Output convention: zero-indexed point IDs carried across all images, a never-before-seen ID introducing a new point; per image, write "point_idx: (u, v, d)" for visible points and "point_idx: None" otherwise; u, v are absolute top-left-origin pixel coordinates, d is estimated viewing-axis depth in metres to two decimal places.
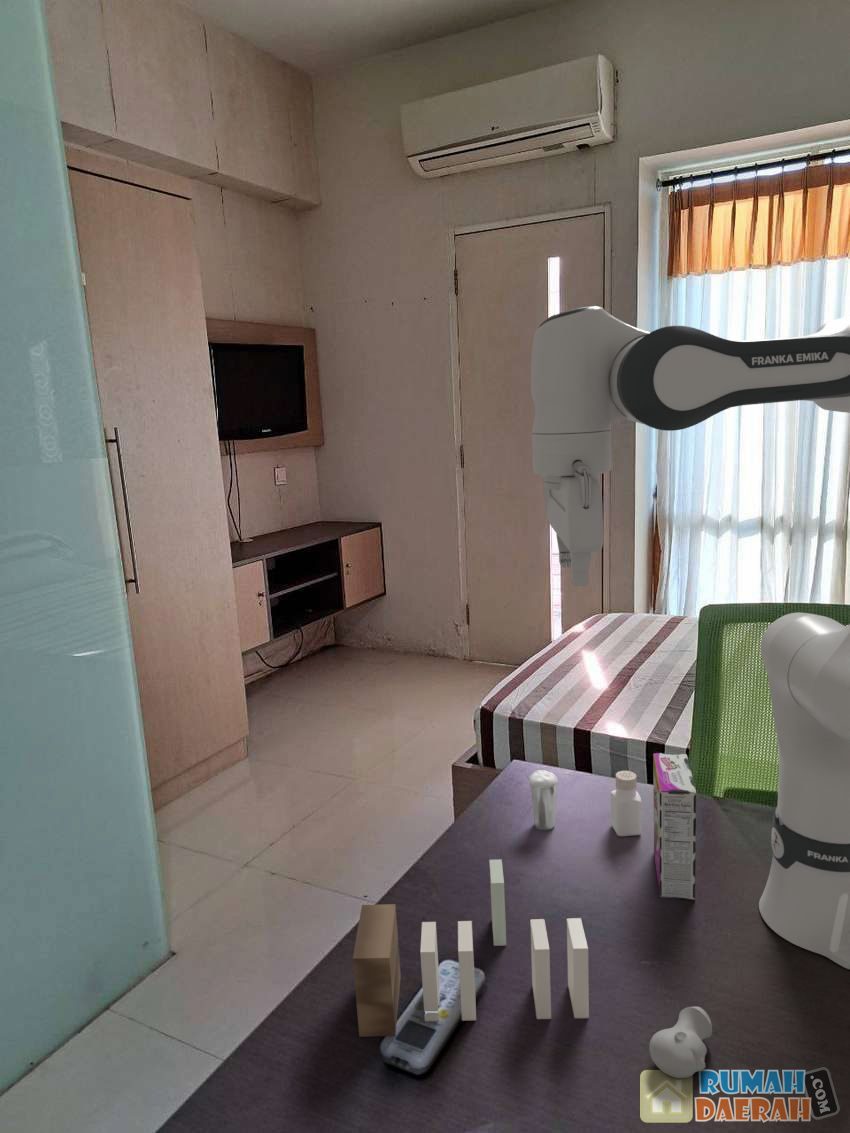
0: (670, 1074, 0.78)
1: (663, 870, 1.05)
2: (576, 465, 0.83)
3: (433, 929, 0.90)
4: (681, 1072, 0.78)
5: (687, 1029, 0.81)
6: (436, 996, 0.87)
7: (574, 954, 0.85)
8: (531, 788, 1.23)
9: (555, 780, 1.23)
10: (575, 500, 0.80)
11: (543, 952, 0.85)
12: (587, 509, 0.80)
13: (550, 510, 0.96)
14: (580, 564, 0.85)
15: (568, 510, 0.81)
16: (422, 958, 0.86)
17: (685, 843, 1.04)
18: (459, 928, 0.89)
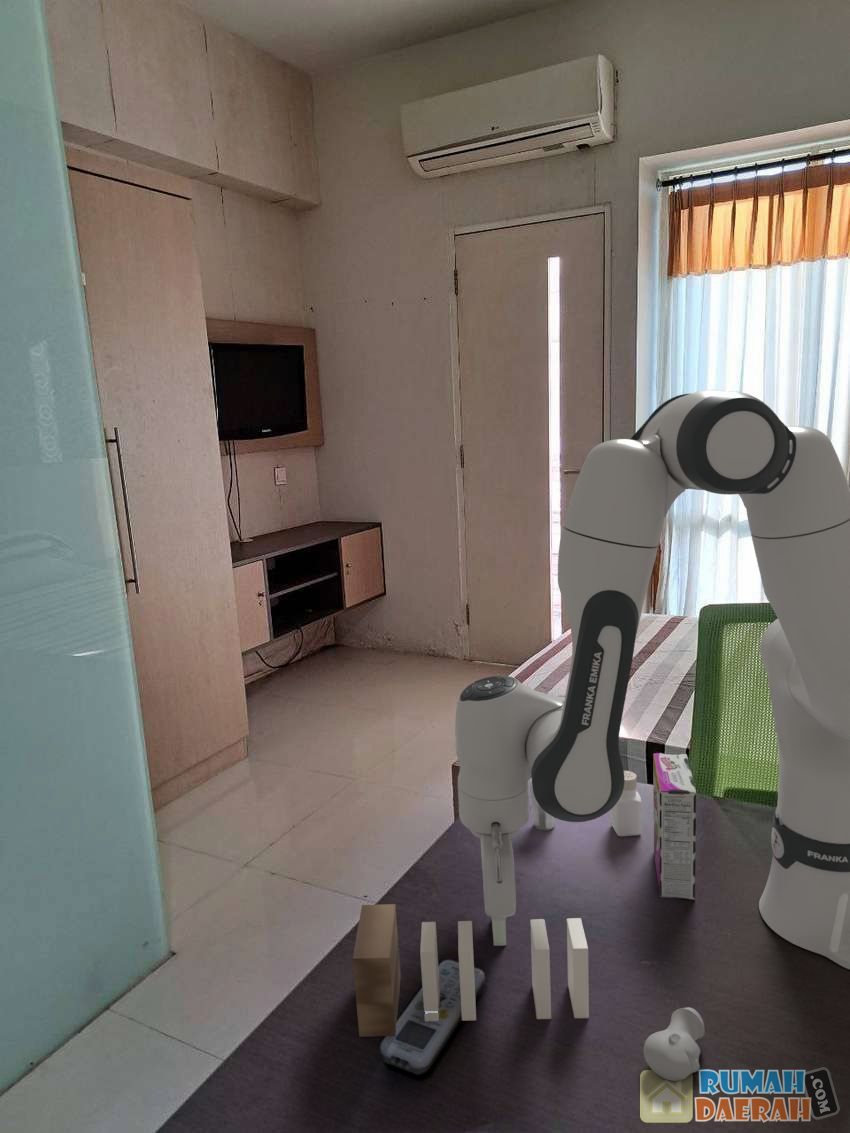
0: (665, 1077, 0.78)
1: (663, 870, 1.05)
2: (492, 834, 0.91)
3: (433, 929, 0.90)
4: (676, 1074, 0.78)
5: (680, 1031, 0.81)
6: (436, 996, 0.87)
7: (574, 954, 0.85)
8: (531, 788, 1.23)
9: None
10: (489, 875, 0.89)
11: (543, 952, 0.85)
12: (500, 883, 0.89)
13: None
14: None
15: (484, 882, 0.90)
16: (422, 958, 0.86)
17: (685, 843, 1.04)
18: (459, 928, 0.89)
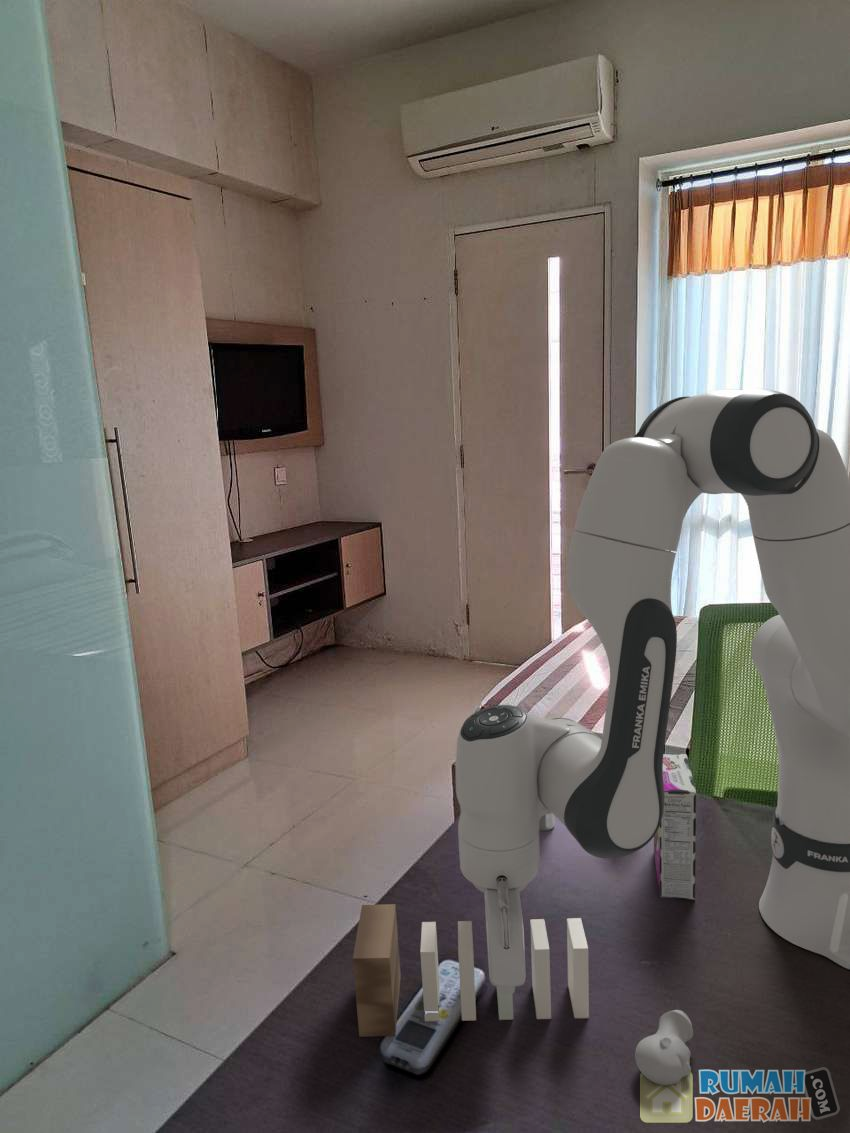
0: (658, 1082, 0.78)
1: (663, 870, 1.05)
2: (498, 891, 0.80)
3: (433, 929, 0.90)
4: (669, 1078, 0.77)
5: (670, 1034, 0.80)
6: (436, 996, 0.87)
7: (574, 954, 0.85)
8: None
9: None
10: (495, 940, 0.77)
11: (543, 952, 0.85)
12: (507, 949, 0.77)
13: None
14: None
15: (488, 947, 0.78)
16: (422, 958, 0.86)
17: (684, 843, 1.04)
18: (459, 928, 0.89)
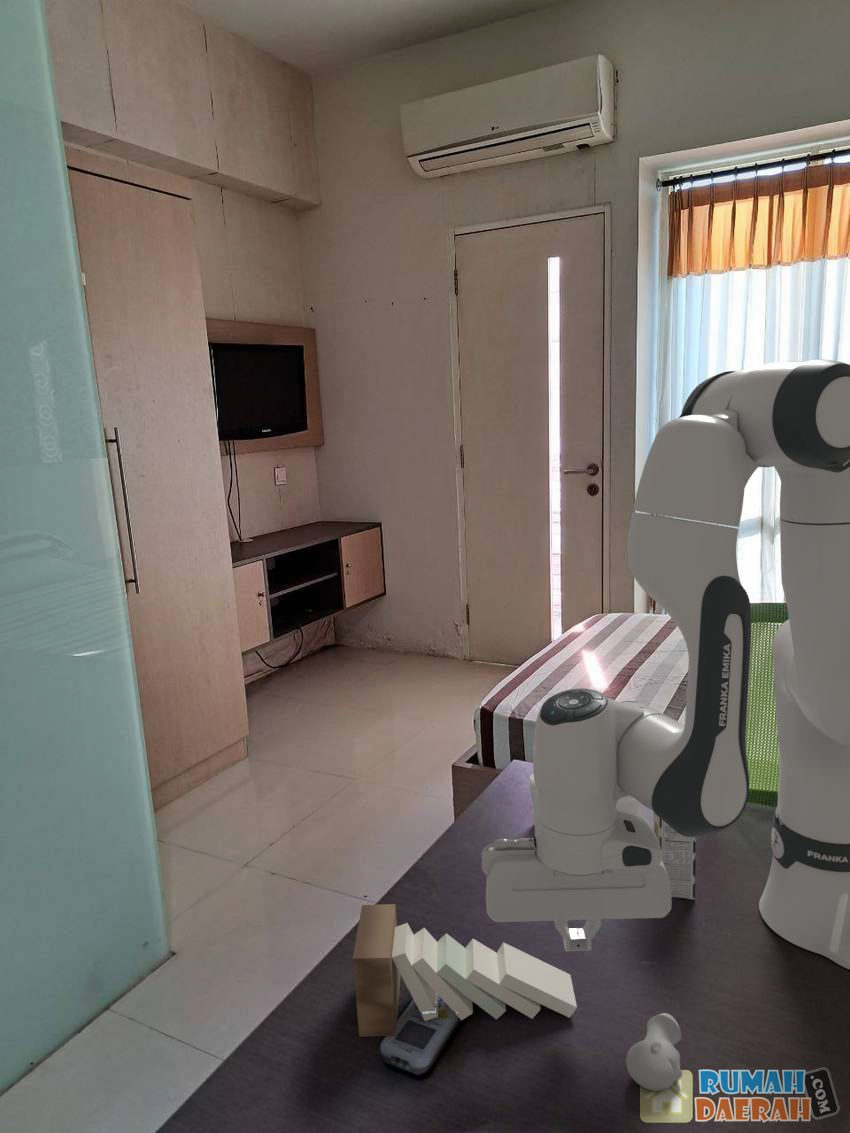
0: (650, 1088, 0.77)
1: None
2: (516, 839, 0.86)
3: (404, 930, 0.90)
4: (662, 1084, 0.77)
5: (660, 1038, 0.80)
6: (425, 994, 0.87)
7: (505, 986, 0.87)
8: (531, 788, 1.23)
9: None
10: None
11: (473, 974, 0.86)
12: (488, 877, 0.86)
13: None
14: None
15: None
16: (396, 962, 0.86)
17: (685, 843, 1.04)
18: (414, 941, 0.90)
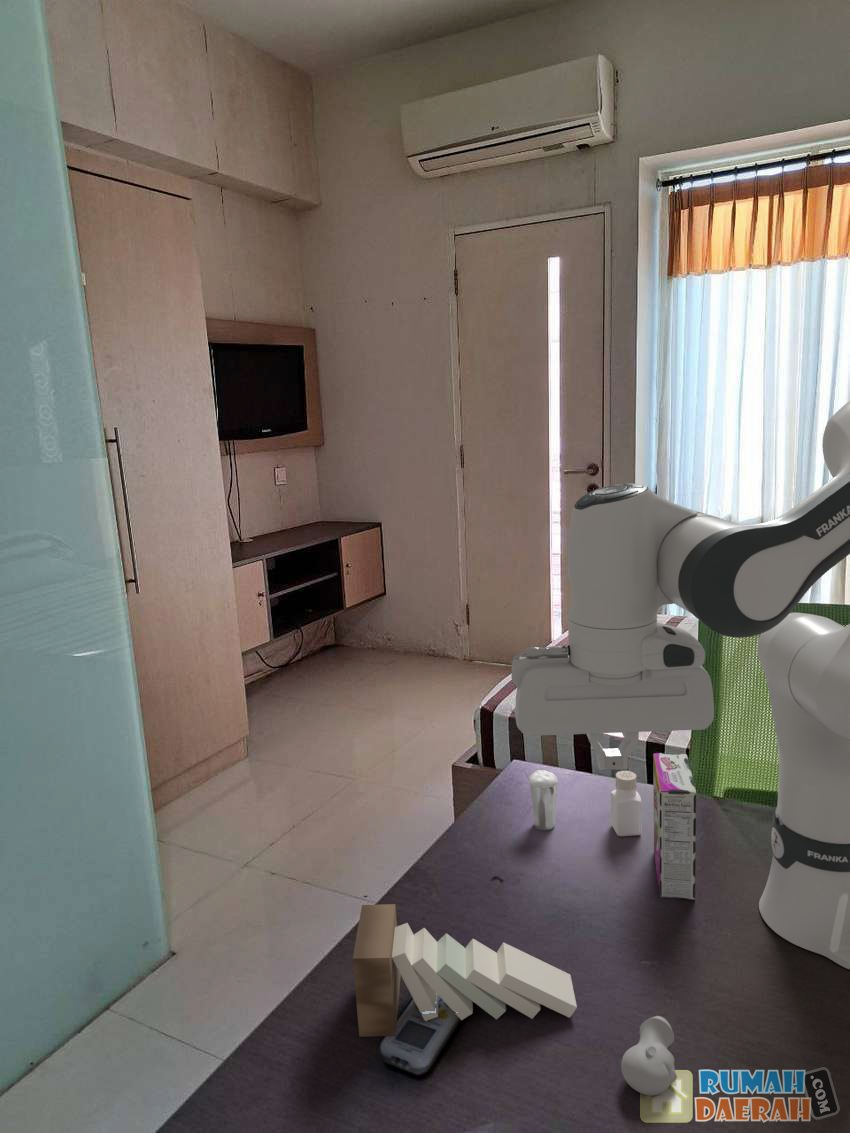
0: (646, 1093, 0.77)
1: (663, 870, 1.05)
2: None
3: (404, 930, 0.90)
4: (658, 1088, 0.76)
5: (654, 1042, 0.80)
6: (425, 994, 0.87)
7: (505, 986, 0.87)
8: (531, 788, 1.23)
9: (555, 780, 1.23)
10: None
11: (473, 974, 0.86)
12: (518, 689, 0.81)
13: None
14: None
15: None
16: (396, 962, 0.86)
17: (685, 843, 1.04)
18: (414, 941, 0.90)
